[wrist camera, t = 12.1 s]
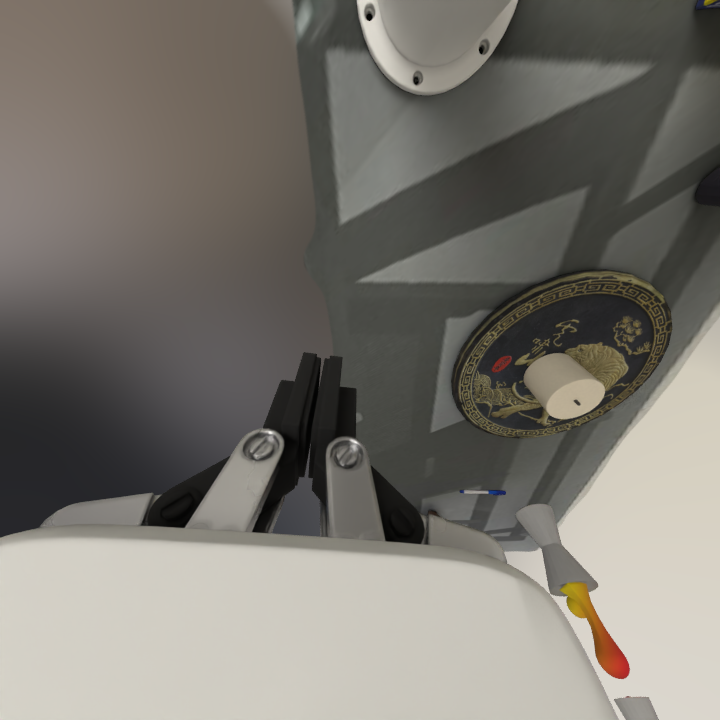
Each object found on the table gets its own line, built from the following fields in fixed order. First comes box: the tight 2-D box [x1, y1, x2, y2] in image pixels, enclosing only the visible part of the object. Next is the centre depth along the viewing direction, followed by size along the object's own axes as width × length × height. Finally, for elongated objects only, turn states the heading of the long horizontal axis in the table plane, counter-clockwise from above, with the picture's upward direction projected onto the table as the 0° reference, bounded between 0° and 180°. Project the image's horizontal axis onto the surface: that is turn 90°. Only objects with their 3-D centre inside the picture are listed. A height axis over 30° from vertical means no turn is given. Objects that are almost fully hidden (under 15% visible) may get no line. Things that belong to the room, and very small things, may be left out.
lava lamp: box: [516, 504, 659, 720], centre depth 52 cm, size 9×9×35 cm
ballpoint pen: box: [460, 490, 506, 495], centre depth 61 cm, size 10×1×1 cm, turn 89°
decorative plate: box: [451, 270, 672, 438], centre depth 41 cm, size 30×2×30 cm
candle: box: [524, 353, 605, 419], centre depth 37 cm, size 7×7×7 cm
